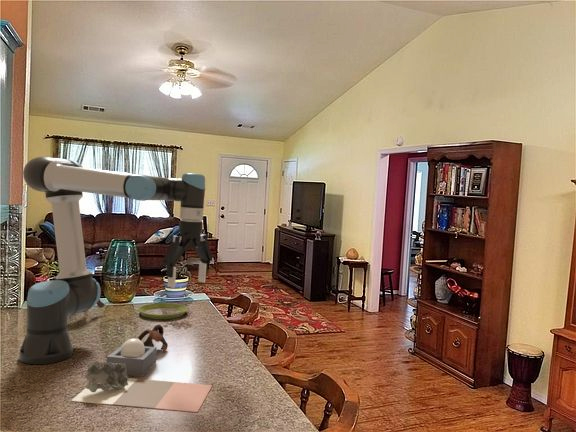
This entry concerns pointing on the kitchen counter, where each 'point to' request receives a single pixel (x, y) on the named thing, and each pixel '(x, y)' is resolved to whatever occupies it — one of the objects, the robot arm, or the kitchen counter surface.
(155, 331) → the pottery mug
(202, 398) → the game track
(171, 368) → the kitchen counter surface
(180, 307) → the saucer
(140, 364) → the housing
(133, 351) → the cream ball
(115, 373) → the egg carton
